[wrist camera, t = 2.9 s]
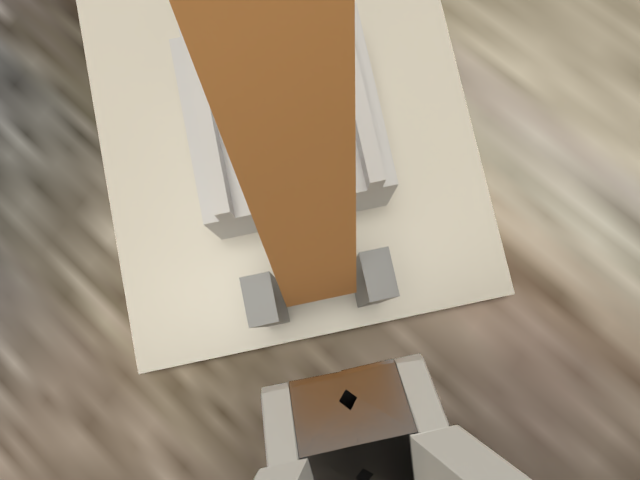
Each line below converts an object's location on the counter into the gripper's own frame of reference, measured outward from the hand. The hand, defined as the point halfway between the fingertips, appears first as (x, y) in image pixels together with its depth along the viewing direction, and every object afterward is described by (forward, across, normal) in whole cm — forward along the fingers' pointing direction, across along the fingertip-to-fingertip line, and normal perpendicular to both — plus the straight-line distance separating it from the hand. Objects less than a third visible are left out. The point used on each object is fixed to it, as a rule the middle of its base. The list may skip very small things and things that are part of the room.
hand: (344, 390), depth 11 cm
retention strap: (+8, 0, 0) cm, 8 cm away
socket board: (+24, 0, +7) cm, 25 cm away
